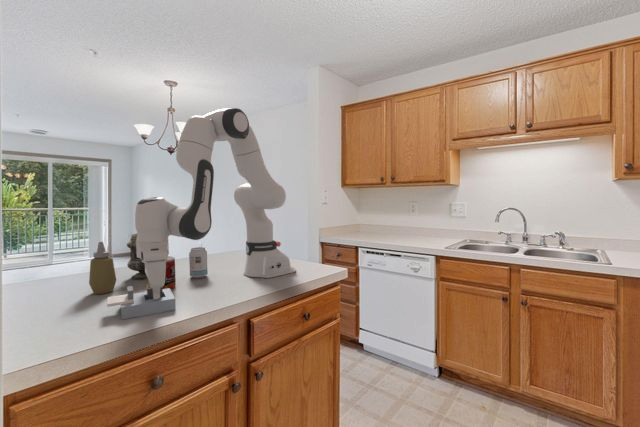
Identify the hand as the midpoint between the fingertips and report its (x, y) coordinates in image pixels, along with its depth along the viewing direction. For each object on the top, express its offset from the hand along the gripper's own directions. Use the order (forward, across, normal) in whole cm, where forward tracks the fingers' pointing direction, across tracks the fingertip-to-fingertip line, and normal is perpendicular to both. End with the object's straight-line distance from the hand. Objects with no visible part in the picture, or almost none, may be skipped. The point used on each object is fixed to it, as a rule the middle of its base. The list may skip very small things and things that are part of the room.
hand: (154, 293), depth 101 cm
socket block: (+4, 0, -2) cm, 5 cm away
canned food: (+4, -20, +5) cm, 21 cm away
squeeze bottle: (+4, -26, -14) cm, 30 cm away
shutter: (+1, 0, -9) cm, 9 cm away
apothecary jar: (+4, -41, 0) cm, 41 cm away
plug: (+4, 0, 0) cm, 4 cm away
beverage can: (+4, -28, +19) cm, 34 cm away
